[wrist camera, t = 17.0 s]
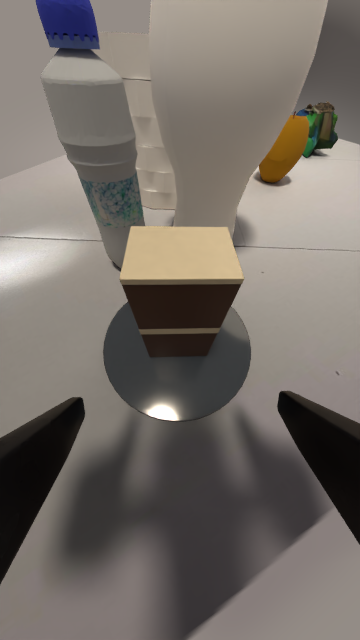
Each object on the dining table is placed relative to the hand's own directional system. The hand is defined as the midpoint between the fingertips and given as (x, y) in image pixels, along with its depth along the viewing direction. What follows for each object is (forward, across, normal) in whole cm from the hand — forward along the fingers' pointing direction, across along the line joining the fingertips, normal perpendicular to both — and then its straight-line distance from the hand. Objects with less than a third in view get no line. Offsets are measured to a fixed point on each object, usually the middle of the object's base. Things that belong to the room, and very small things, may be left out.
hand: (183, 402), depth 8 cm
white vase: (+27, -5, -14) cm, 31 cm away
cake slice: (+11, 0, +1) cm, 11 cm away
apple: (+45, -26, -32) cm, 61 cm away
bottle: (+22, +7, -9) cm, 25 cm away
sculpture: (+63, -47, -50) cm, 93 cm away
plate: (+12, 0, +2) cm, 12 cm away
